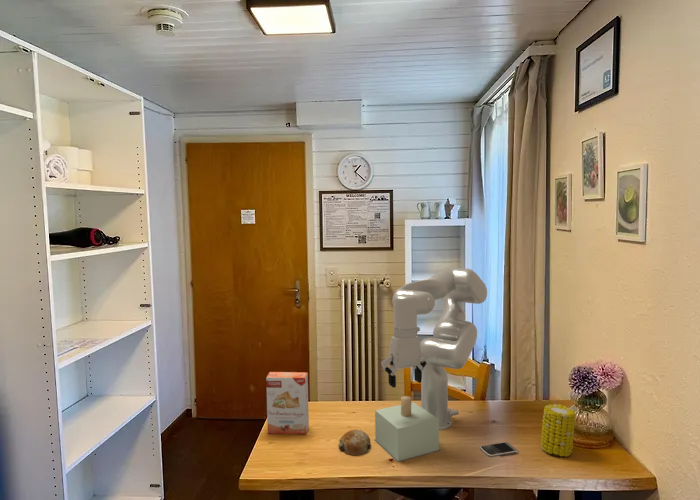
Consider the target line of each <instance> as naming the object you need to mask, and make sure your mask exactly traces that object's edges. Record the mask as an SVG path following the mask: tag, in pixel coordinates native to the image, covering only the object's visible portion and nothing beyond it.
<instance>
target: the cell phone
mask: <svg viewBox="0 0 700 500" xmlns="http://www.w3.org/2000/svg"><path fill="white" fill-rule="evenodd" d="M479 449H480V451H482V452H483V453H484V455H486V456H488V457H490V458H493V457H504V456H510V455H515V454H516V455H517V454H518V453H519V450H517V449H516V448H515V447H514V446H513V445H511V444H510V443H509V441H506V442H498V443H493V444H487V445H481V446H480V447H479Z"/></svg>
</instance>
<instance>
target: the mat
mask: <svg viewBox="0 0 700 500" xmlns="http://www.w3.org/2000/svg"><path fill="white" fill-rule="evenodd" d="M374 441H375V442H376V444H378V445H379V446H380V447H381V448H382V449H383V450H384V451H385V452H386V453H387V454H388V455H390V457H391V458H393V459H394V461H396V462H397V463H400V462H404V461H408V460H411V459H414V458H418V457H419V458H420V457H422V456H425V455H430V454H433V453H437V452H440V451H441V449H439V450H438V451H434V452H430V453H427V454H423V455H419V456H415V457H412V458H408V459H404V460H400V461H397V460H396V459H395V458H394V457H393V456H392V455H391V454H390V453H389V452H388V451H387V450H386V449H385V448H384V447H383V446H381V445H380V444H379V443H378V442H377V441H376V440H375V439H374Z"/></svg>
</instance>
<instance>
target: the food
mask: <svg viewBox="0 0 700 500" xmlns="http://www.w3.org/2000/svg"><path fill="white" fill-rule="evenodd" d="M541 421H542V423H541V435H540V436H541V437H540V443H541V444H540V447H541V451H543V452H545V453H546V454H547V453H548V454H549V455H556V456H560V457H566V458H567V457H569V456H571V454H572V453H573V449H574V448H573V447H574V437H575V424H576V412H575V410H574V409H572V408H571V407H567V406H566V405H562V404H561V403H559V404H558V403H554V404H548V405H545V406H544V409H543V416H542V419H541Z"/></svg>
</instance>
